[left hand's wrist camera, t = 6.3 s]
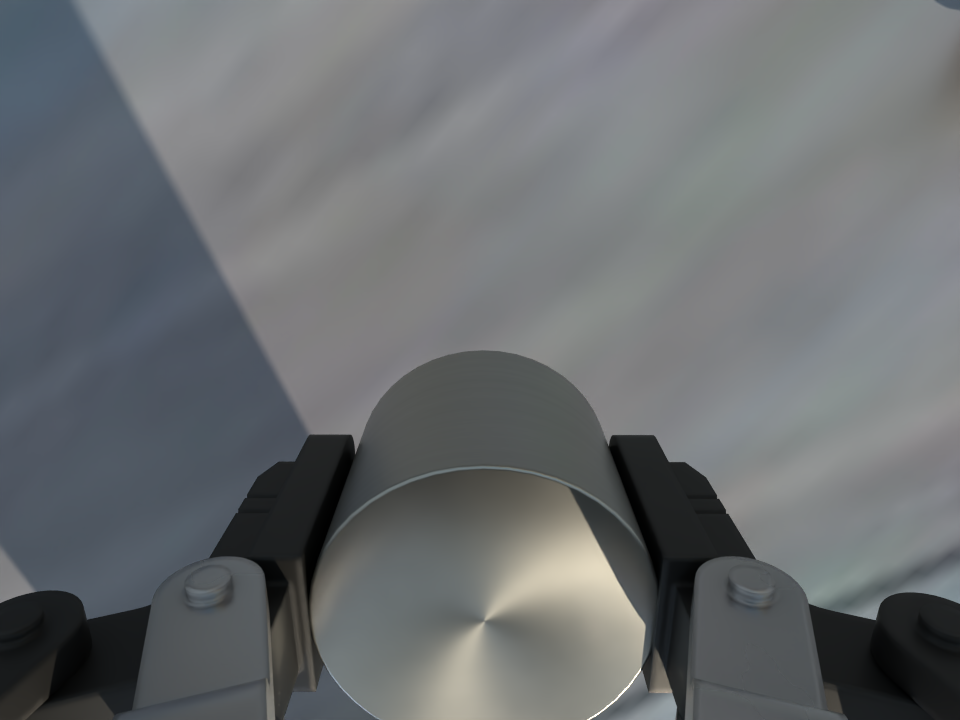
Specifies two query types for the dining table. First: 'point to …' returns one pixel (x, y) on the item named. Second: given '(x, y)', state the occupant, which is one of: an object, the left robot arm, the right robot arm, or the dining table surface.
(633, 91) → the dining table surface
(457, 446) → the tin
